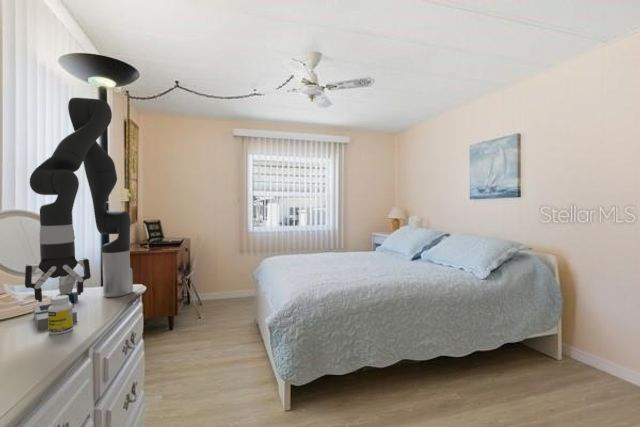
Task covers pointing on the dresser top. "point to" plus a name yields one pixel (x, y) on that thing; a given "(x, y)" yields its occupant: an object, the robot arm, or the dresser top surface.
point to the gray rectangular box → (46, 315)
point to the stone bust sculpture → (68, 288)
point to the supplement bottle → (60, 315)
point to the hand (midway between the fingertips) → (60, 297)
